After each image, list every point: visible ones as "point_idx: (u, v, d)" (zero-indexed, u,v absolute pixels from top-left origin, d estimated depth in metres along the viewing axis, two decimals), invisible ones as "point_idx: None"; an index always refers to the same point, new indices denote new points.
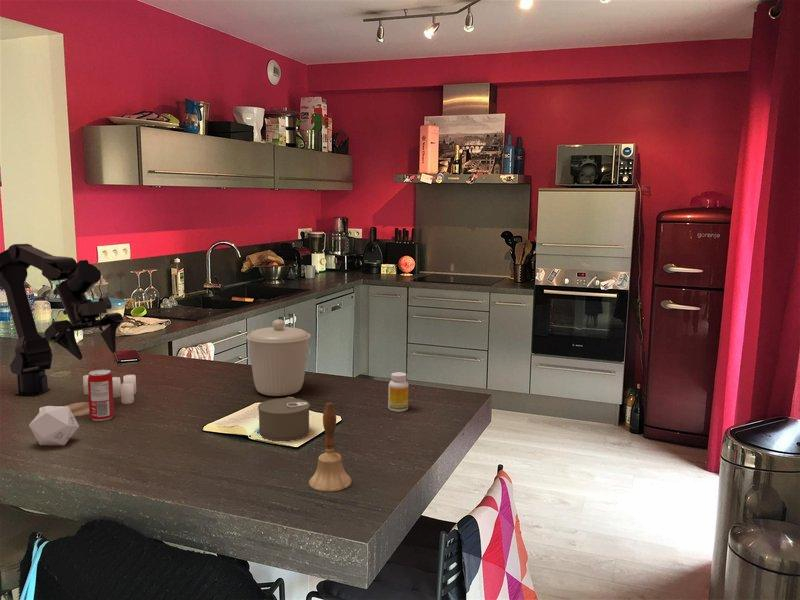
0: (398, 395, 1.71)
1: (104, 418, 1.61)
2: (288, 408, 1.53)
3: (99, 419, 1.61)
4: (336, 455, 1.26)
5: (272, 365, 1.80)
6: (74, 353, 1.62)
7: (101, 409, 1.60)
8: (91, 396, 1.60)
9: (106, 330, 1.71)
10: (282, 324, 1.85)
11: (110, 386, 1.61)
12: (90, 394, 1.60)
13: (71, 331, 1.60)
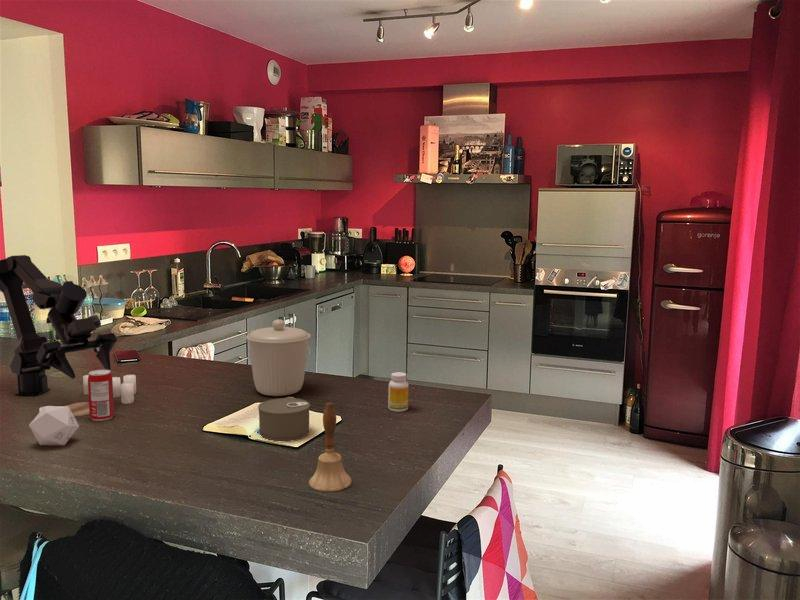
0: (398, 395, 1.71)
1: (104, 418, 1.61)
2: (288, 408, 1.53)
3: (99, 419, 1.61)
4: (336, 455, 1.26)
5: (272, 365, 1.80)
6: (67, 372, 1.60)
7: (101, 409, 1.60)
8: (91, 396, 1.60)
9: (100, 350, 1.70)
10: (282, 324, 1.85)
11: (110, 386, 1.62)
12: (90, 394, 1.60)
13: (61, 350, 1.60)
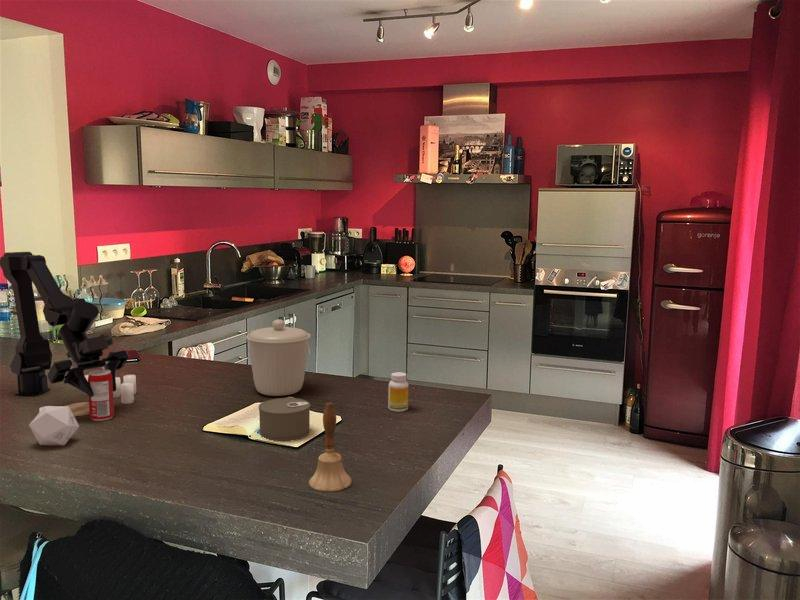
0: (398, 395, 1.71)
1: (104, 418, 1.61)
2: (288, 408, 1.53)
3: (99, 419, 1.61)
4: (336, 455, 1.26)
5: (272, 365, 1.80)
6: (85, 390, 1.59)
7: (101, 409, 1.60)
8: None
9: (105, 369, 1.66)
10: (282, 324, 1.85)
11: (110, 386, 1.61)
12: None
13: (79, 368, 1.59)
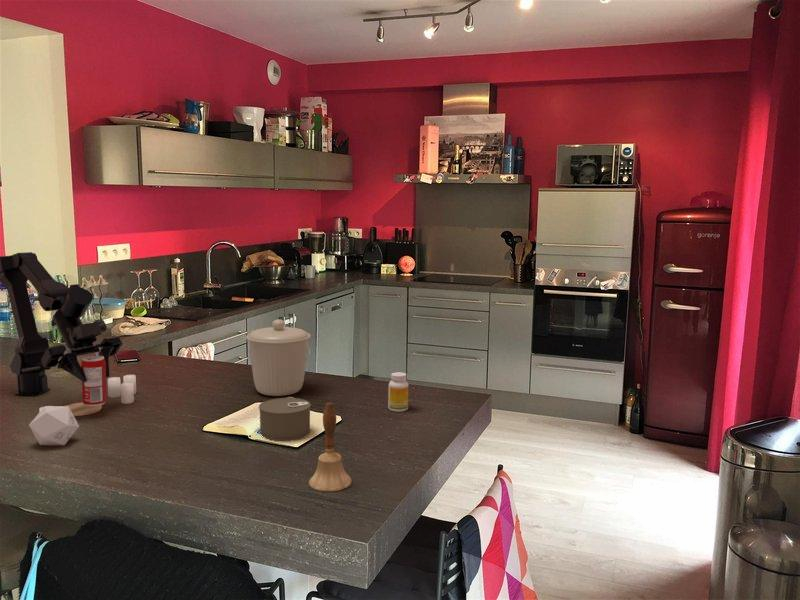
0: (398, 395, 1.71)
1: (97, 403, 1.62)
2: (289, 408, 1.53)
3: (92, 404, 1.62)
4: (336, 455, 1.26)
5: (272, 365, 1.80)
6: (78, 376, 1.60)
7: (94, 395, 1.61)
8: (84, 382, 1.61)
9: (99, 355, 1.67)
10: (282, 324, 1.85)
11: (103, 372, 1.63)
12: None
13: (73, 353, 1.60)
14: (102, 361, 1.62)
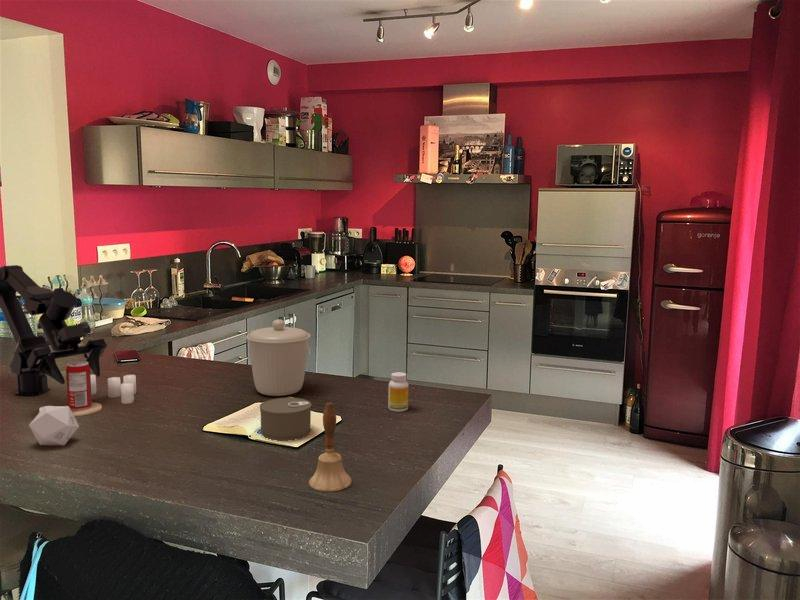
0: (398, 395, 1.71)
1: (82, 408, 1.67)
2: (289, 408, 1.53)
3: (77, 409, 1.66)
4: (336, 455, 1.26)
5: (272, 365, 1.80)
6: (57, 378, 1.63)
7: (79, 399, 1.66)
8: (69, 387, 1.66)
9: (90, 356, 1.73)
10: (282, 324, 1.85)
11: (88, 377, 1.67)
12: (68, 384, 1.66)
13: (51, 356, 1.63)
14: (86, 366, 1.67)
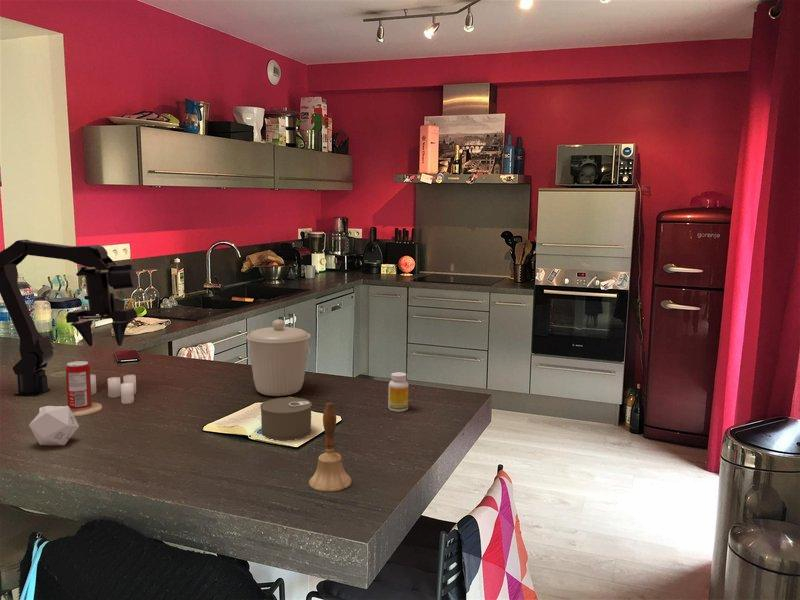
0: (398, 395, 1.71)
1: (82, 408, 1.67)
2: (290, 407, 1.53)
3: (77, 409, 1.66)
4: (336, 455, 1.26)
5: (272, 365, 1.80)
6: (120, 338, 1.82)
7: (79, 399, 1.66)
8: (69, 387, 1.66)
9: (86, 323, 1.83)
10: (282, 324, 1.85)
11: (88, 377, 1.67)
12: (68, 384, 1.66)
13: None
14: (86, 366, 1.67)
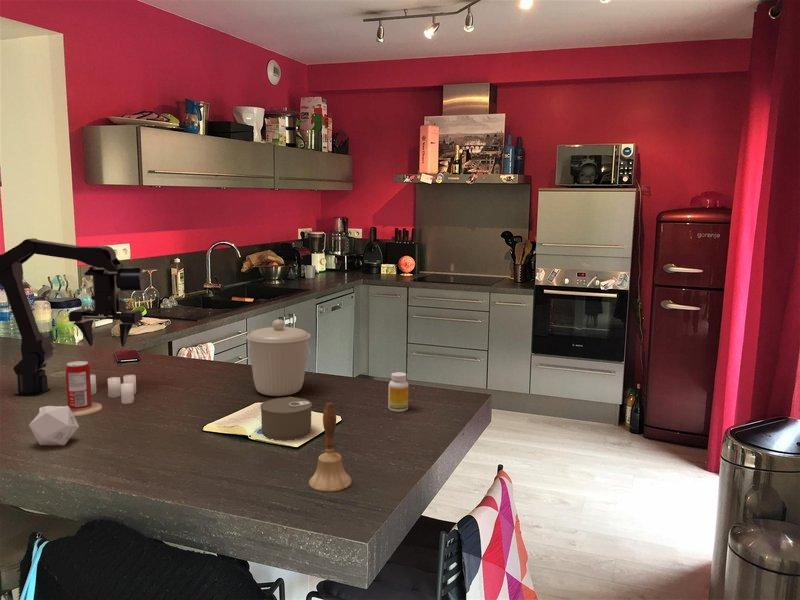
0: (398, 395, 1.71)
1: (82, 408, 1.67)
2: (290, 407, 1.53)
3: (77, 409, 1.66)
4: (336, 455, 1.26)
5: (272, 365, 1.80)
6: (124, 339, 1.84)
7: (79, 399, 1.66)
8: (68, 387, 1.66)
9: (88, 323, 1.84)
10: (282, 324, 1.85)
11: (87, 377, 1.67)
12: (68, 384, 1.66)
13: None
14: (86, 366, 1.67)
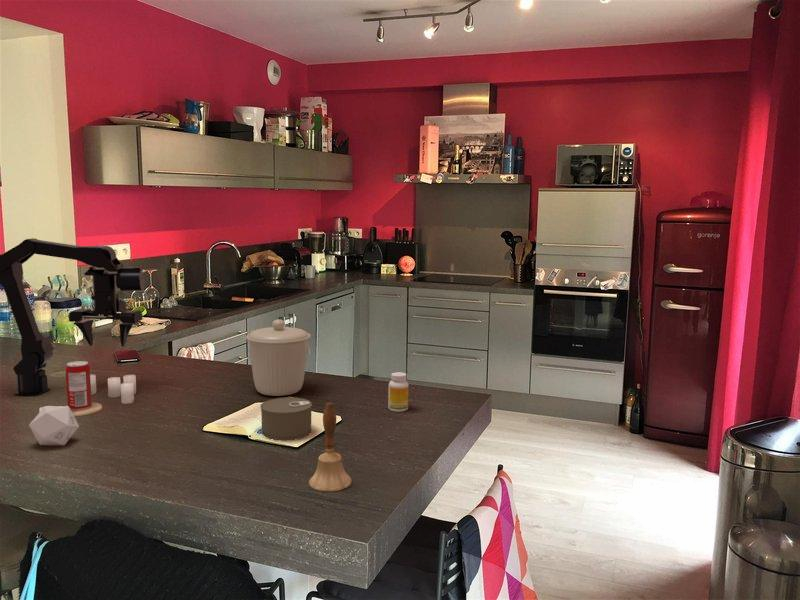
0: (398, 395, 1.71)
1: (82, 408, 1.67)
2: (290, 407, 1.53)
3: (77, 409, 1.66)
4: (336, 455, 1.26)
5: (272, 365, 1.80)
6: (124, 339, 1.84)
7: (79, 399, 1.66)
8: (68, 387, 1.66)
9: (88, 323, 1.84)
10: (282, 324, 1.85)
11: (87, 377, 1.67)
12: (68, 384, 1.66)
13: None
14: (86, 366, 1.67)
